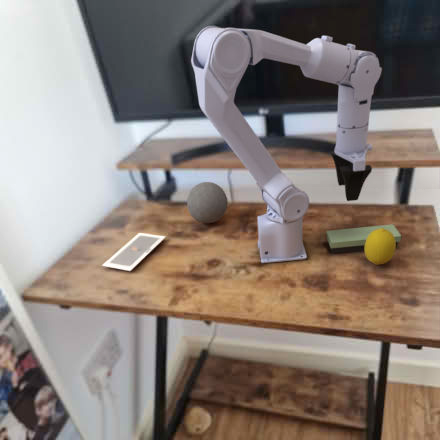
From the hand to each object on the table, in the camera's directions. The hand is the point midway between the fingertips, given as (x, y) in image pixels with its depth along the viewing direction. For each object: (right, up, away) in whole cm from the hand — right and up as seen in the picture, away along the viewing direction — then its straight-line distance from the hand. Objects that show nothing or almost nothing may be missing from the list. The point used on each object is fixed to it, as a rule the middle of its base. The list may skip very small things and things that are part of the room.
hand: (347, 191), depth 84 cm
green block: (+4, -11, +2) cm, 12 cm away
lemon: (+5, -16, -4) cm, 17 cm away
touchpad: (-46, -12, +10) cm, 49 cm away
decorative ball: (-29, -3, +19) cm, 35 cm away
